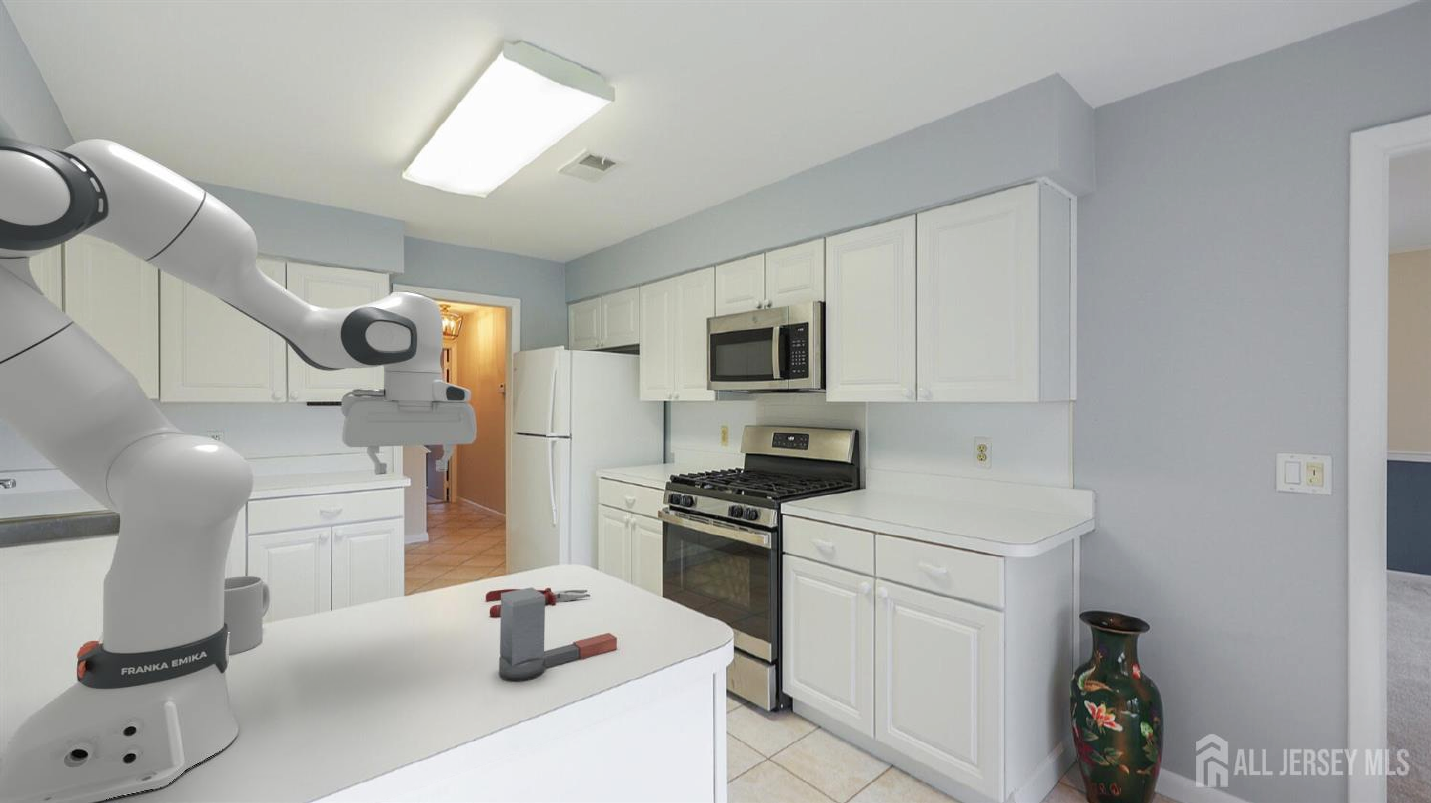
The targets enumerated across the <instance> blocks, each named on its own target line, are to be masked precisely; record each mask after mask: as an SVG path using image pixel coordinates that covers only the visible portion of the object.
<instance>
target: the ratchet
mask: <svg viewBox="0 0 1431 803" xmlns="http://www.w3.org/2000/svg"><path fill="white" fill-rule="evenodd" d="M617 648H618V637H616V636H615V635H613V634H611V632H607V633H603V634H599V635H596V636H592V637H588V638H583V639H579V640H576V641H573V642H572V644H568V645H564V646H559V647H556V648H551V649H548V650H544V658H542V659H538V660H534V661H531V662H527V663H523V664H519V665H516V666H511V665H510V664H509V663H508V662H507V661H506V660H505V659H504V658H503V657H502V656H500V657H499V659H498V660H499V662H498V666H499V667H498V668H499V669H498V675H499V677H500V678H501V679H502V680H504V681H507V682H525V681H530V680H534V679H537V678H538V677H540V676H542V675H543V674H544V673H545V670H546V669H548V668H551V667H555V666H559V665H562V664H563V665H564V664H566V663H570V662H574V661H577V660H582V659H583V660H584V659H586V658H591V657H594V656H597V655H602V654H604V653H607V652H611V651H615V650H617Z"/></svg>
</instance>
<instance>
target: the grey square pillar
mask: <svg viewBox="0 0 1431 803" xmlns="http://www.w3.org/2000/svg"><path fill="white" fill-rule="evenodd" d="M537 590H538V589H535V588H534V587H528V588H521V590H516V591H510V592H505V593H501V600H500V604H501V617H500V624H499V625H500V628H499V630H500V633H499V634H500V637H499V655H500V656H502V657H503V658H504V659H505V660H506V661H507V662H508V663H509V664H510V665H511V666H516V665H519V664H523V663H527V662H531V661H534V660H538V659H542V658H544V651H545V625H546V624H545V622H546V620H545V619H546V618H545V617H546V606H545V595H543V594H542V593H540V592H539V591H537Z"/></svg>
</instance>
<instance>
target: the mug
mask: <svg viewBox="0 0 1431 803" xmlns="http://www.w3.org/2000/svg"><path fill="white" fill-rule="evenodd" d="M269 588H270V587H269V585H268V584H267V583H266V582H265V581H264V580H263V578H262V577H260V576H255V575H254V576H253V575H244V576H243V575H242V576H233V577H232V576H231V577H226V578H225V587H224V622H225V623H226V624H227V626H228V632H230V633H229V656H231V655H235V654H240V653H243V652H247V651H249V650H252V649H253V648H256V647H258V646H259V645H261V643H262V641H263V639H264V638H263V636H264V634H263V630H264V629H263V626H262V625H264V624H263V620H264V619H263V618H264V617H265V616H266V614H267V613H268V610H269V608H270V599H271V597H270V596H271V595H270V594H271V592H270V589H269Z"/></svg>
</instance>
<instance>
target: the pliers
mask: <svg viewBox="0 0 1431 803" xmlns="http://www.w3.org/2000/svg"><path fill="white" fill-rule="evenodd" d="M521 589H522V588H521ZM521 589H520V588H505V589H497V590H490V591H488V592H487V593H486V595H485V601H486V602H487V603H490V602H497V601H501V593H505V592H510V591H516V590H521ZM536 590H537V591H539V592H540V593H542V594H543V595H545V607H546V606H548V605H549V606H553V607H554V606H556V604H557V603H561V602H562V603H563V602H569V601H574V600H575V601H576V600H579V599H583V598H584V599H585V598H588V597H591V594H589V593H588V589H563V590H557V591H552V588H551V587H546V588H544V589H536ZM587 593H588V594H587ZM489 617H491V618H501V603H500V604H495V605H494V604H493V605H492V606H491V607H490V609H489Z"/></svg>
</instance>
